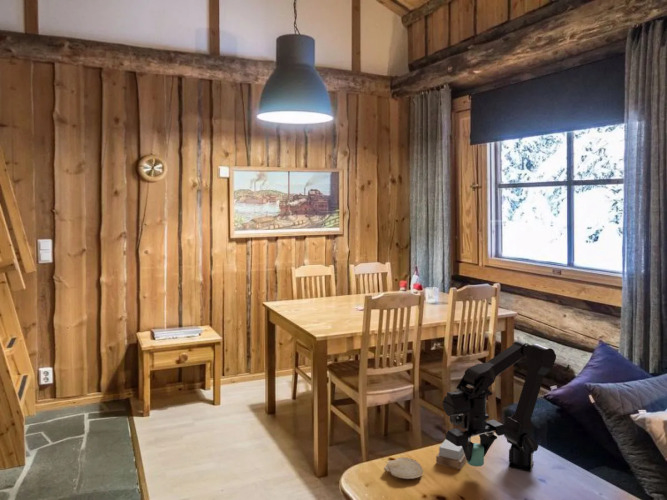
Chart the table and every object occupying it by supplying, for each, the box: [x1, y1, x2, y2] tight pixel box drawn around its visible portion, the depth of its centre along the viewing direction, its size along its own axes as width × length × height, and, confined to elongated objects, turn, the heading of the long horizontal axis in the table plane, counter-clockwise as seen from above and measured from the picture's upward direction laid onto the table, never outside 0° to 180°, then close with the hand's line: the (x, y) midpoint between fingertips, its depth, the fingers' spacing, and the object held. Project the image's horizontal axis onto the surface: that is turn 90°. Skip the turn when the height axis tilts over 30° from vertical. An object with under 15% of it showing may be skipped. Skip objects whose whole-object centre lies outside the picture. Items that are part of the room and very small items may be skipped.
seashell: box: [383, 456, 424, 480], centre depth 166 cm, size 12×12×3 cm
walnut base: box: [435, 452, 467, 470], centre depth 174 cm, size 8×8×3 cm
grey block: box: [438, 438, 464, 461], centre depth 174 cm, size 6×6×3 cm
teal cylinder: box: [466, 442, 485, 468], centre depth 164 cm, size 5×5×5 cm
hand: (475, 459), depth 164 cm, fingers closed on teal cylinder, 5 cm apart
